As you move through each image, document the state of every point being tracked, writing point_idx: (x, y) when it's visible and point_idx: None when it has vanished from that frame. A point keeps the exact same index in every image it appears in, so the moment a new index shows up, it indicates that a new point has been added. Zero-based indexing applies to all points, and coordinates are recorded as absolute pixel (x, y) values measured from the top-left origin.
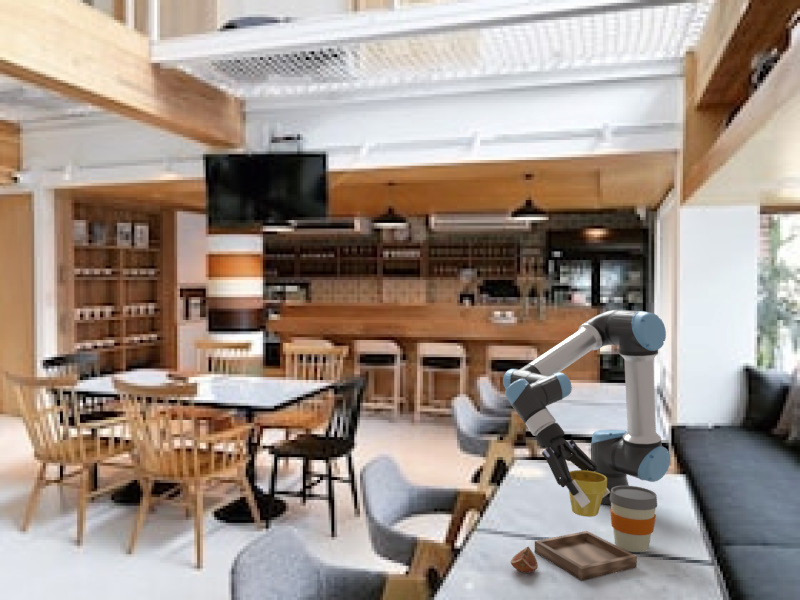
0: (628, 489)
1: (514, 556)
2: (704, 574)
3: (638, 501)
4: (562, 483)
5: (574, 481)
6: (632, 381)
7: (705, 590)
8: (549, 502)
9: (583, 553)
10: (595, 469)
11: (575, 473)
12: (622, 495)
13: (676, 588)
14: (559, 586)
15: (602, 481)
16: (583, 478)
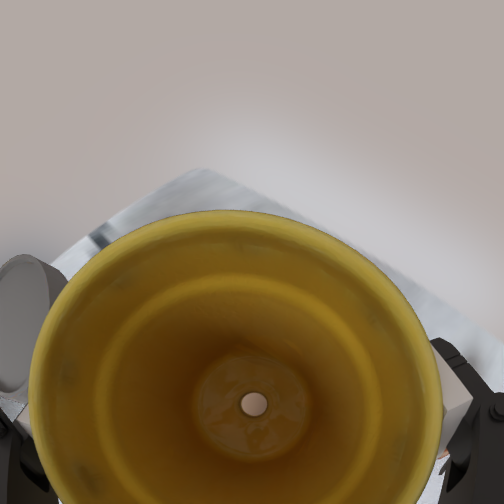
0: None
1: (448, 453)
2: (143, 205)
3: (50, 277)
4: None
5: (460, 389)
6: None
7: (203, 175)
8: None
9: (255, 406)
10: (2, 413)
11: None
12: (27, 350)
13: (234, 199)
14: (432, 327)
15: (221, 210)
16: (115, 490)
